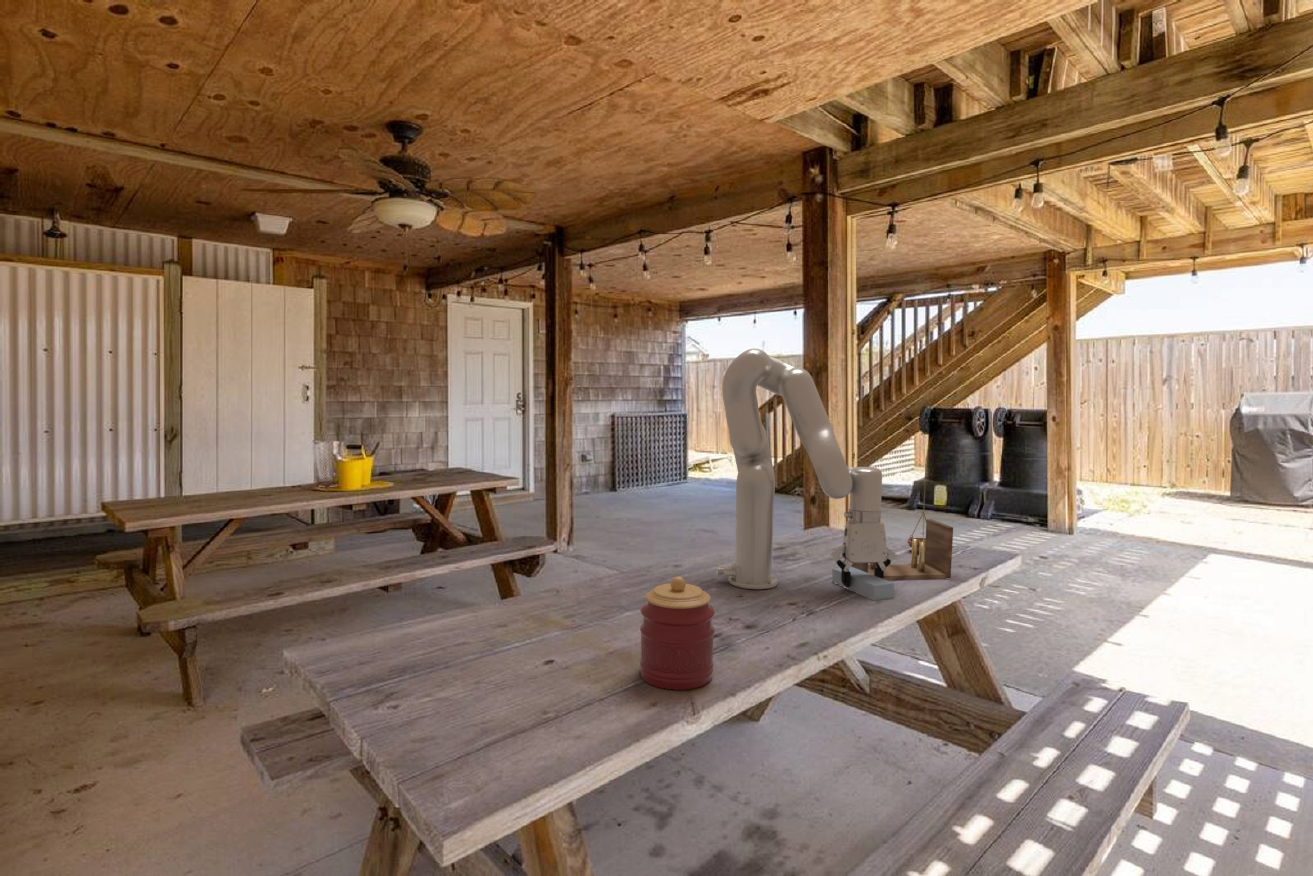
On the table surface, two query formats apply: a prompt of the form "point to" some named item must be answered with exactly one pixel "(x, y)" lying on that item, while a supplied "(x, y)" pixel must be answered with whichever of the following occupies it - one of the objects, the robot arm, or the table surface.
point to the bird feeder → (919, 540)
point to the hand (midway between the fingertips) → (862, 585)
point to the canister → (677, 636)
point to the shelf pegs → (914, 556)
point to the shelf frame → (935, 557)
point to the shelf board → (866, 584)
